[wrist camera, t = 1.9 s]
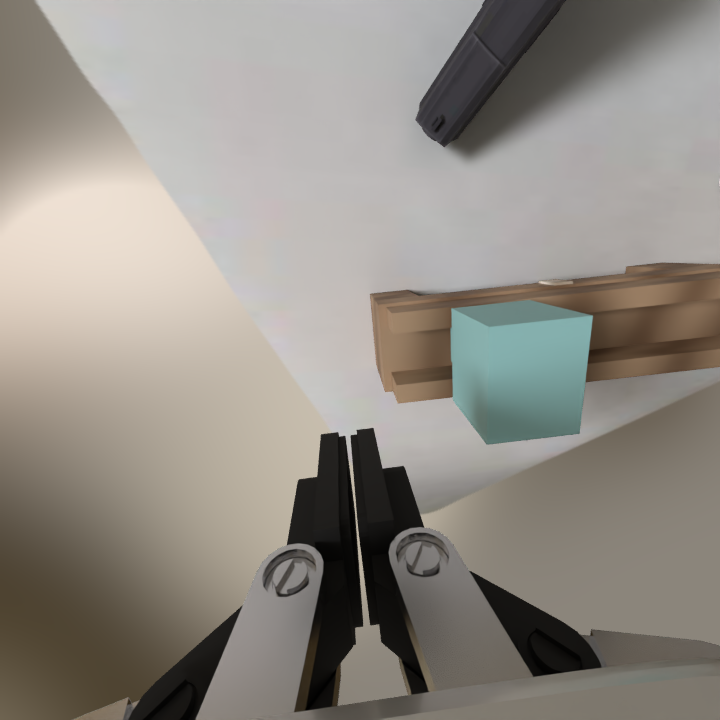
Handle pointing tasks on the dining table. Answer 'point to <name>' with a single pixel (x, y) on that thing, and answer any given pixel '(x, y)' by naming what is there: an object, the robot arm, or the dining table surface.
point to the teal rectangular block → (520, 369)
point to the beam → (586, 295)
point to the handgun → (481, 63)
